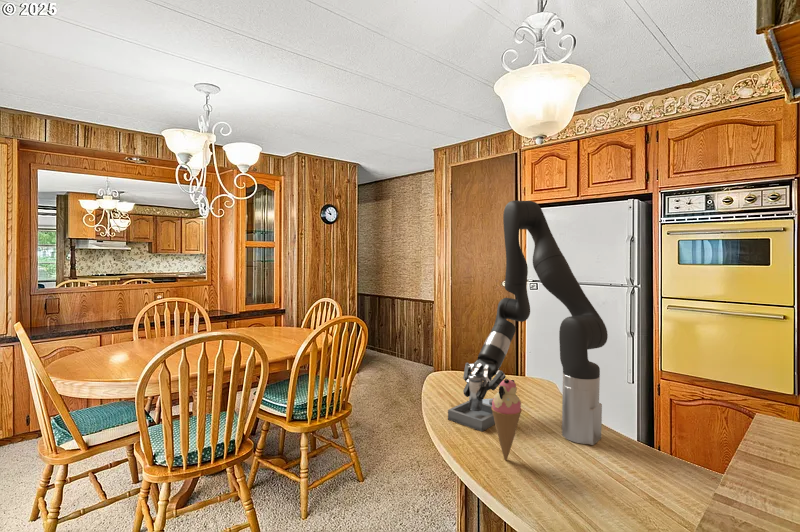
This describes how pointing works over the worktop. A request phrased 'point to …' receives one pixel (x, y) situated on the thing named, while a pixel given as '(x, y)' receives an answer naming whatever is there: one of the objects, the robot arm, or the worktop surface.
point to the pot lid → (488, 401)
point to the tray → (472, 416)
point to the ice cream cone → (506, 414)
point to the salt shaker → (475, 391)
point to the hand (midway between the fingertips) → (472, 397)
